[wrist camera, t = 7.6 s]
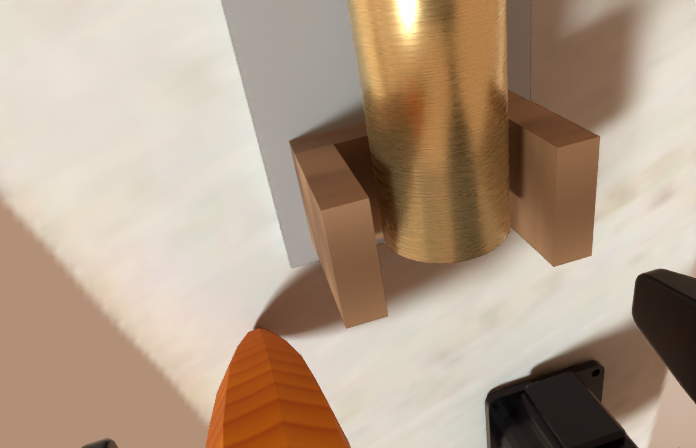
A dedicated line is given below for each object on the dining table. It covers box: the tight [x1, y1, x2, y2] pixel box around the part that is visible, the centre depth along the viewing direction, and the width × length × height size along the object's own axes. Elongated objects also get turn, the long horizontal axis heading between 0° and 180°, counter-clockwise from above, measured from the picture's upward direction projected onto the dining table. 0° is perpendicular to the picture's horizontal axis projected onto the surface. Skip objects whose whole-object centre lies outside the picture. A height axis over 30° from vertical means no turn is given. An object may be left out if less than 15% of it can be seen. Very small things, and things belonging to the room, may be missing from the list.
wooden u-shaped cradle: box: [289, 90, 600, 329], centre depth 18 cm, size 4×8×5 cm, turn 100°
